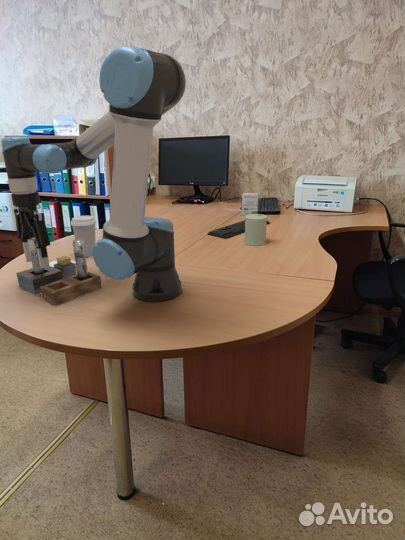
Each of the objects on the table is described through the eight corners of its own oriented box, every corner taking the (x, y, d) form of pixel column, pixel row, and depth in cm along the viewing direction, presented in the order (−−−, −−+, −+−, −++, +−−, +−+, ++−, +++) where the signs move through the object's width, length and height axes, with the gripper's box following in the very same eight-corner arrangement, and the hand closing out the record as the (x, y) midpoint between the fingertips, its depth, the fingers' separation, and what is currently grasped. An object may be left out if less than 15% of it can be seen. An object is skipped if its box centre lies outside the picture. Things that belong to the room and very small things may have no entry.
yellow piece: (72, 274, 132) (70, 257, 130) (64, 277, 130) (61, 260, 128) (67, 272, 134) (64, 255, 132) (59, 274, 132) (56, 258, 129)
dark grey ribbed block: (226, 240, 172) (226, 236, 171) (206, 235, 179) (206, 231, 178) (270, 224, 196) (270, 220, 195) (251, 221, 203) (251, 217, 203)
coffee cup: (69, 257, 152) (64, 219, 147) (84, 249, 161) (80, 214, 155) (90, 259, 149) (85, 221, 144) (104, 252, 157) (100, 215, 152)
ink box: (257, 214, 215) (258, 192, 211) (257, 216, 211) (258, 194, 207) (242, 213, 217) (242, 192, 212) (241, 215, 212) (242, 194, 208)
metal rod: (48, 285, 126) (40, 238, 120) (39, 289, 124) (30, 241, 118) (43, 283, 128) (35, 236, 122) (34, 286, 126) (25, 239, 120)
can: (270, 242, 166) (271, 214, 162) (257, 247, 160) (258, 219, 155) (252, 238, 172) (253, 211, 168) (239, 243, 166) (240, 215, 161)
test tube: (91, 288, 123) (85, 240, 118) (83, 291, 121) (76, 242, 115) (85, 286, 125) (79, 238, 120) (77, 289, 123) (70, 240, 117)
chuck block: (81, 278, 131) (79, 265, 129) (35, 295, 119) (32, 280, 117) (64, 272, 137) (62, 259, 135) (19, 287, 125) (16, 273, 123)
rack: (87, 282, 128) (86, 271, 127) (101, 287, 124) (100, 276, 122) (42, 299, 117) (39, 286, 115) (55, 305, 112) (53, 293, 111)
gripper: (55, 193, 111) (66, 267, 120) (19, 186, 124) (32, 254, 132) (30, 197, 106) (44, 274, 114) (-5, 190, 118) (10, 260, 127)
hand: (37, 263), depth 123 cm, fingers open, 8 cm apart
